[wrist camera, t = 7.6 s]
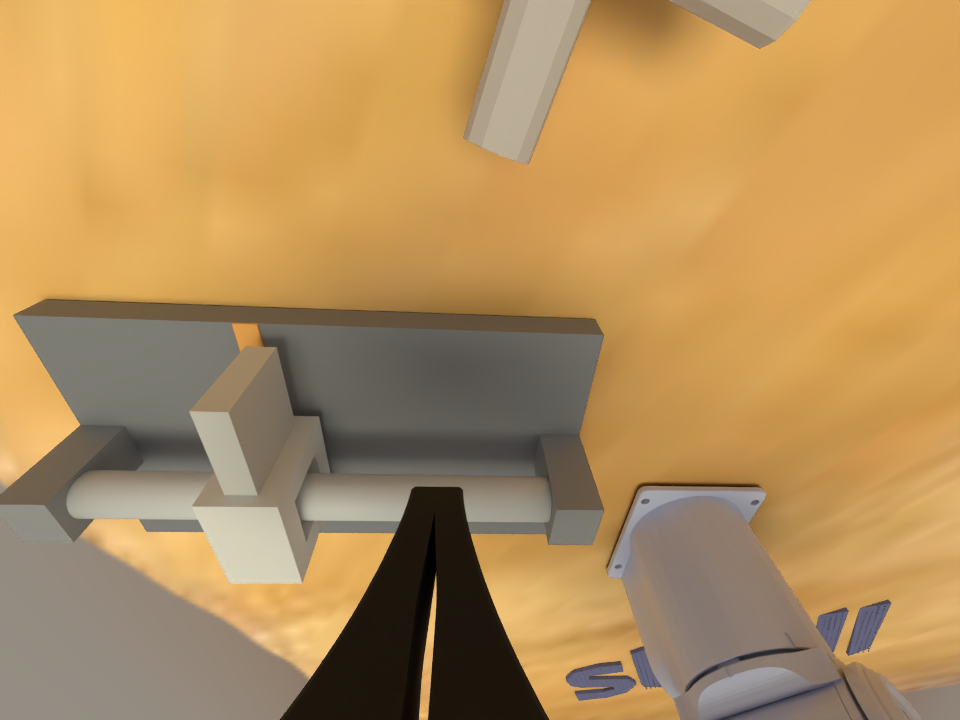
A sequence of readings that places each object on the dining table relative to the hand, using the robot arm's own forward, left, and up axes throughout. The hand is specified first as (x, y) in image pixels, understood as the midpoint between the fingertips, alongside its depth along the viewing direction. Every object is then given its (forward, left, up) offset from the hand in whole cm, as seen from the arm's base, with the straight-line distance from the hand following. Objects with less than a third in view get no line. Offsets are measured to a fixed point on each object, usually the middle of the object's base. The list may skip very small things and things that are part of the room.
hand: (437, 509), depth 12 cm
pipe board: (-5, +5, -9) cm, 12 cm away
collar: (-3, +7, -7) cm, 11 cm away
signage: (-33, -25, -10) cm, 43 cm away
